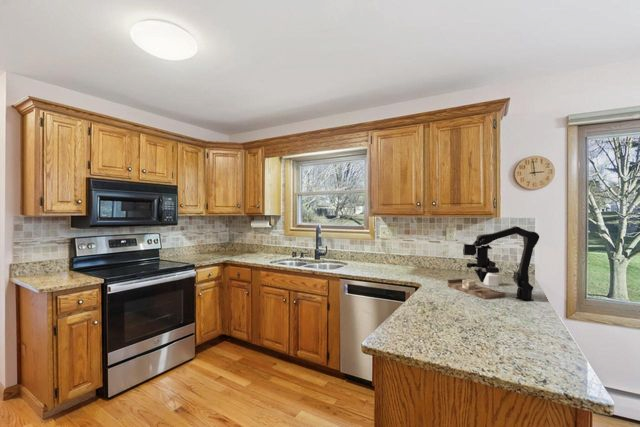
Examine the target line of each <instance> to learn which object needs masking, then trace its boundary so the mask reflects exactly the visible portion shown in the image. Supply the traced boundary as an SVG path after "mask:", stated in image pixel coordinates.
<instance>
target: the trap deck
mask: <svg viewBox="0 0 640 427" xmlns="http://www.w3.org/2000/svg"><path fill="white" fill-rule="evenodd" d="M467 279H468V278H456V279H455V278H454V279H447V287H449V288H451V289H454V290H456V291H459V292H463V293H465V294H468V295H471V296H474V297H476V298H480V299H482V300H493V299H500V298H506V297H505V296H506V295H505V294H506V293H505V292H502V291H499V290H495V289H492V288H489V287H485V286H482V285H479V284H476V283H475V289H472V290H468V289H465V288H462V280H467Z"/></svg>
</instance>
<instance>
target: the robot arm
mask: <svg viewBox="0 0 640 427" xmlns="http://www.w3.org/2000/svg"><path fill="white" fill-rule="evenodd" d="M513 235H518V236H520V237H522V242H523V249H522V254H521V259H520V262H519V267H518V270H516V271H513V275H512V276H511V277H512V280H513V283H515V284H516V286H517V290H516V296H515V299H518V300H520V301H524V302H528V301H529V302H530V301H534V300H535V299H533V290H534V286H533V285H532V284H531V283H530V281H529V280H530V277H529V269H530V265H531V264H530V263H531V261H532V256H533V252H534V248H535V246H536V245H537V244H538V242H539V240H540V234H539V233H537V232H535V231H530V230H526V229H524V228H521V227H520V226H516V225H515V226H511V227H510V228H509V227H508V228H506V229H502V230H499V231H495V232H493V233H484V234H483V233H482V234H478V235H477V236H476V238H475V241H474V242H473V243H471V244H469V243H464V244H463V248H462V254H463V255H464V256H475V255H476V257H474V259H475V260H476V262H467V264H466V268H468V269H471V268H474V269H473V271H475V274H476V275H477V277H478V278H479V281H480V283H483V281H484V279H485V277H486V275H487V273H496V274H498V273H500V269H499V267H497V266H496V262H494V261H492V260H491V259H490V257H488V256H489V249H490V250H492V249H493V247H492V246H491V245H489V244H491V243H492V242H494V241H495V240H499V239H502V238H506V237H508V236H513Z"/></svg>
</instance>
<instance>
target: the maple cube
mask: <svg viewBox="0 0 640 427" xmlns="http://www.w3.org/2000/svg"><path fill="white" fill-rule="evenodd" d="M466 279H467V280H462V288H465V289H468V290H472V289H475V284H476V280H473V279H468V278H466Z"/></svg>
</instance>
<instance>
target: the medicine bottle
mask: <svg viewBox="0 0 640 427" xmlns="http://www.w3.org/2000/svg"><path fill="white" fill-rule="evenodd" d="M482 284H483V285H485V286H487V287H500V275H498V274H497V273H487V275H486V277H485V279H484V281H483V282H482Z"/></svg>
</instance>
